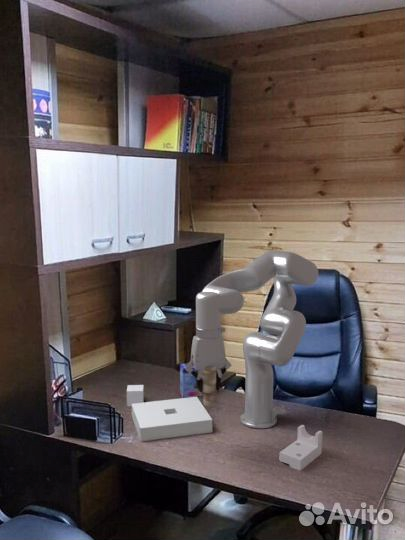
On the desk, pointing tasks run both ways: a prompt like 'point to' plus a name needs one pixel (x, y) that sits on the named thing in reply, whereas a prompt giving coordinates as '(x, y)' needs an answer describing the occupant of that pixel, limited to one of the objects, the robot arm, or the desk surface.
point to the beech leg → (209, 384)
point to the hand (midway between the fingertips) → (208, 389)
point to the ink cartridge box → (188, 383)
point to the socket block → (170, 418)
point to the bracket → (302, 449)
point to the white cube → (135, 394)
